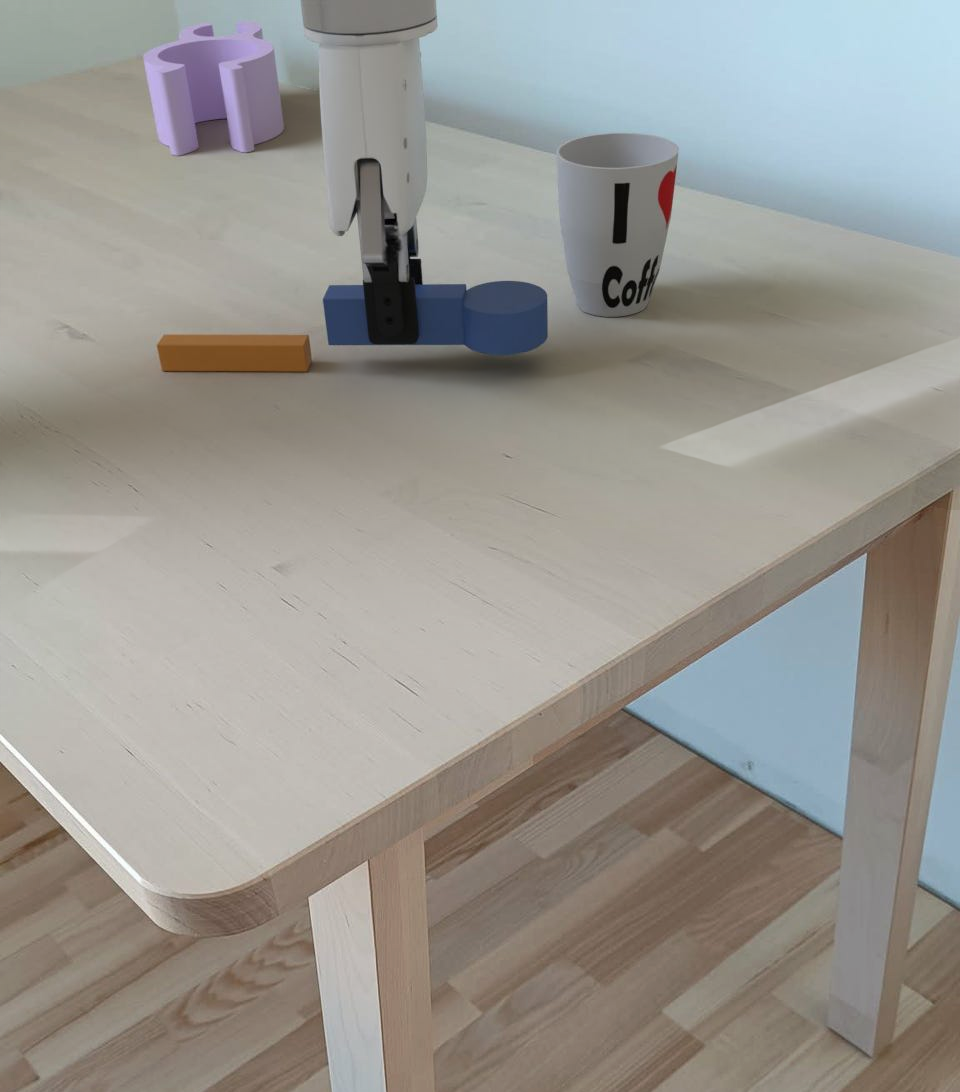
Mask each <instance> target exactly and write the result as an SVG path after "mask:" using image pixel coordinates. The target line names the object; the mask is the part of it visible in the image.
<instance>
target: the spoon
mask: <svg viewBox="0 0 960 1092" xmlns="http://www.w3.org/2000/svg"><path fill="white" fill-rule="evenodd" d="M415 291H416V304H417V318H418V331H419V337H418V340H417V342H416V343H415V344H373V343H371V342H370V341H369V336H368V327H367V317H366V307H365V298H364V288H363V284H330V285H328V287H327V289H326V292H325V294H324V296H323V298H322V305H323V314H324V319H325V329H326V334H327V335H326V337H327V345H328V346H465V347H467V348H468V349H469V350H471V351H474V352H477V353H479V354H485V355H491V356H492V355H493V356H511V355H518V354H523V353H528V352H531V351H533V350H535V349H538V348H540V347H541V346H542V345H544V344H545V343H546V341H547V340H548V335H549V334H548V332H549V330H548V322H549V321H548V320H549V319H548V317H549V316H548V312H549V311H548V309H549V308H548V305H549V304H548V293H547V292H546V290H545V289H544V288H542V287H541V286H539V285H536V284H534V283H531V282H527V281H519V280H497V281H495V280H494V281H488V282H484V283H481V284H477V285H475V286H472V287H469V288H467V284H466V283H437V284H436V283H435V284H434V283H433V284H432V283H429V284H428V283H426V284H425V283H423V284H415Z"/></svg>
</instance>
